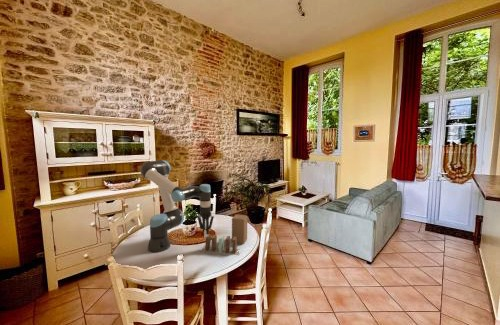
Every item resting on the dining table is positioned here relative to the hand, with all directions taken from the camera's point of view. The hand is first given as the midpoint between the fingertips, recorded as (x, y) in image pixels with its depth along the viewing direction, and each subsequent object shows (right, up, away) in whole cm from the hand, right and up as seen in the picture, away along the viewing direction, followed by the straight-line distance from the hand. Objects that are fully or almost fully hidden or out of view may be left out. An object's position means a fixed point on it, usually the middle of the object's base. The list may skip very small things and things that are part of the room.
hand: (205, 238), depth 152 cm
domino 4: (+21, -9, -2) cm, 23 cm away
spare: (+11, -8, -1) cm, 14 cm away
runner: (+11, -9, -1) cm, 14 cm away
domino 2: (+6, -8, 0) cm, 10 cm away
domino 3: (+16, -9, -2) cm, 18 cm away
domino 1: (+1, -8, +1) cm, 8 cm away
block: (+24, -8, +14) cm, 29 cm away
